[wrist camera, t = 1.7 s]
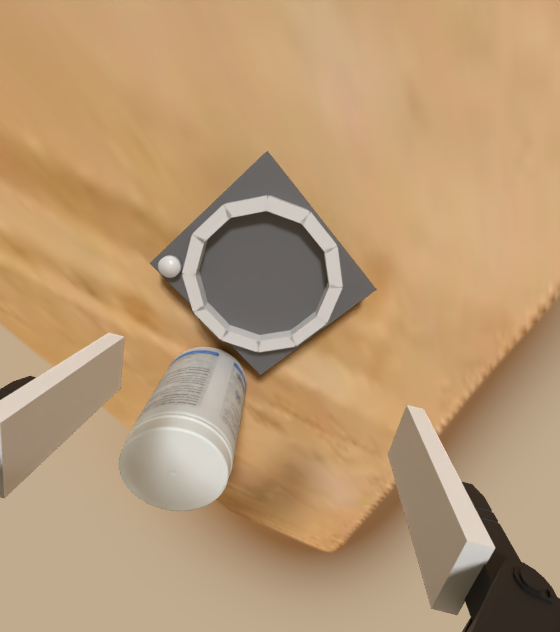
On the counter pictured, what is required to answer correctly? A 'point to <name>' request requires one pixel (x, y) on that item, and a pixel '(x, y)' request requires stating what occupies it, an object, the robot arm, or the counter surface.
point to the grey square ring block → (263, 267)
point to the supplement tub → (187, 432)
